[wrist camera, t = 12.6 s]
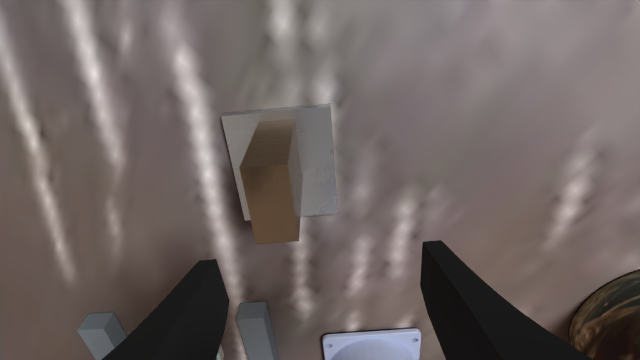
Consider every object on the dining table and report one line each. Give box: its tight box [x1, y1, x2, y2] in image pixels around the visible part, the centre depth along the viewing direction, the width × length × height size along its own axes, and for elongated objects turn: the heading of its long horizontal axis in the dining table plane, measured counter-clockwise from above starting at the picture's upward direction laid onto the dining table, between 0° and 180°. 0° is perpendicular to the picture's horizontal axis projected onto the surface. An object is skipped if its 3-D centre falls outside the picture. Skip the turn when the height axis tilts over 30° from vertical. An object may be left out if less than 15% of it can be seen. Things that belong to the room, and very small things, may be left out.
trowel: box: [221, 103, 338, 244], centre depth 18 cm, size 6×7×6 cm
